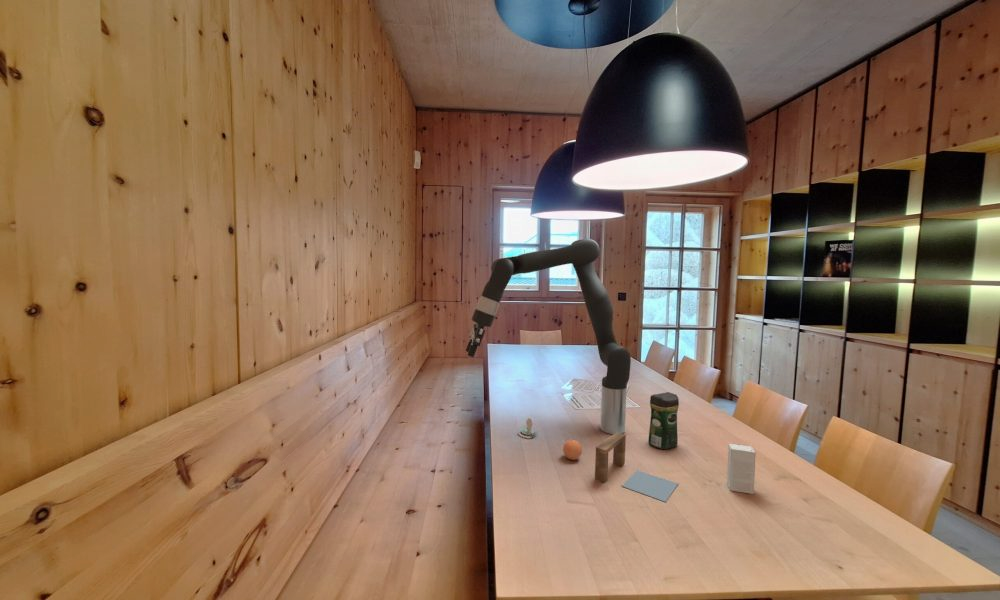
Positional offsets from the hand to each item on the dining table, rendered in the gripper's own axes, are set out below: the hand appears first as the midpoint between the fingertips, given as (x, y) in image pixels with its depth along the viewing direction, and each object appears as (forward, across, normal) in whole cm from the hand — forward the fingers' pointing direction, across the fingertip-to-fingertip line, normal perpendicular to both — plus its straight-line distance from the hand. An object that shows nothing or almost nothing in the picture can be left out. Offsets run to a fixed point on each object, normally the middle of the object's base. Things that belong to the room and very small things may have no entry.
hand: (469, 354), depth 141 cm
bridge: (+15, -29, -49) cm, 59 cm away
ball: (+15, -19, -40) cm, 47 cm away
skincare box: (+4, -42, -80) cm, 91 cm away
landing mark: (+12, -38, -57) cm, 69 cm away
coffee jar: (+6, -12, -75) cm, 76 cm away
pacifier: (+22, +2, -32) cm, 38 cm away
